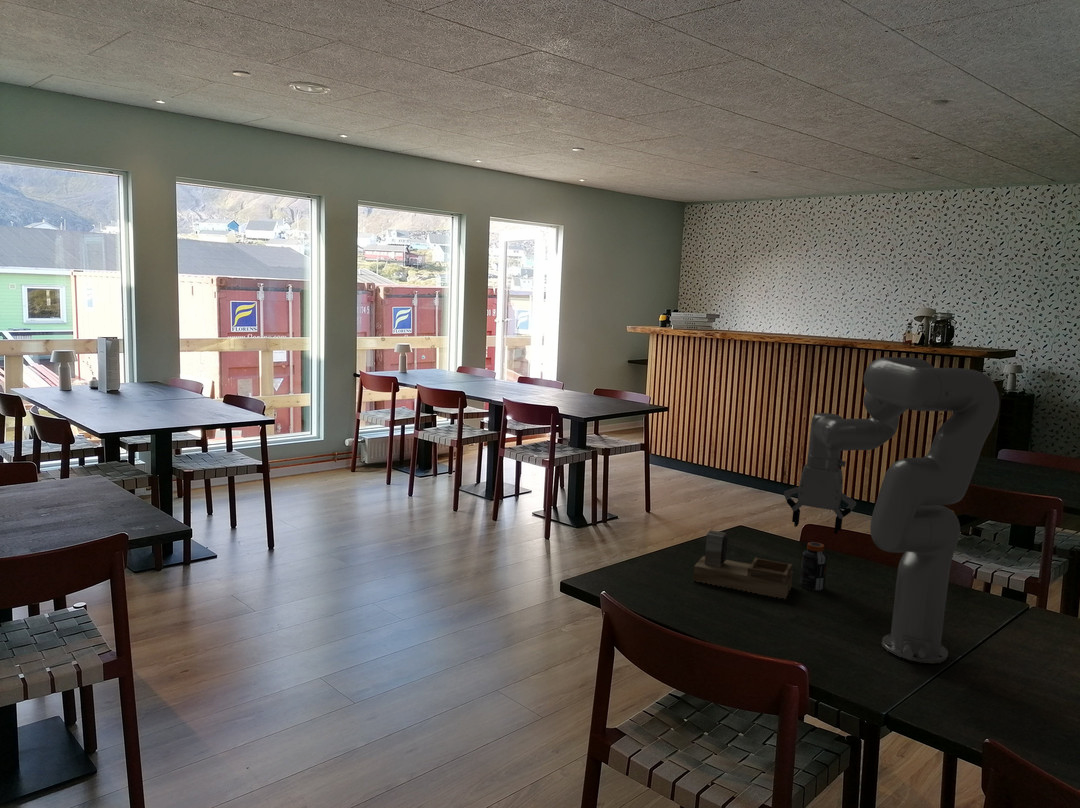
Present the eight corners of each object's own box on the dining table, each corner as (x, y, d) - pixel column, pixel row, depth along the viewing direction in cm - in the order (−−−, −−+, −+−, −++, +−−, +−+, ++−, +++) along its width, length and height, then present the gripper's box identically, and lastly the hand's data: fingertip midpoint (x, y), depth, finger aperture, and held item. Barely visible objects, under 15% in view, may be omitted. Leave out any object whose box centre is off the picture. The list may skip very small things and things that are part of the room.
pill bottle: (827, 591, 197) (831, 548, 195) (804, 590, 197) (807, 547, 195) (819, 583, 203) (823, 540, 201) (796, 581, 203) (800, 539, 201)
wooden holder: (785, 599, 190) (789, 552, 189) (692, 581, 200) (696, 535, 199) (791, 587, 199) (795, 541, 197) (702, 569, 209) (705, 526, 207)
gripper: (861, 465, 195) (853, 531, 198) (789, 455, 202) (783, 519, 205) (859, 471, 188) (851, 539, 191) (785, 460, 196) (778, 526, 199)
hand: (816, 528), depth 198 cm, fingers open, 9 cm apart
